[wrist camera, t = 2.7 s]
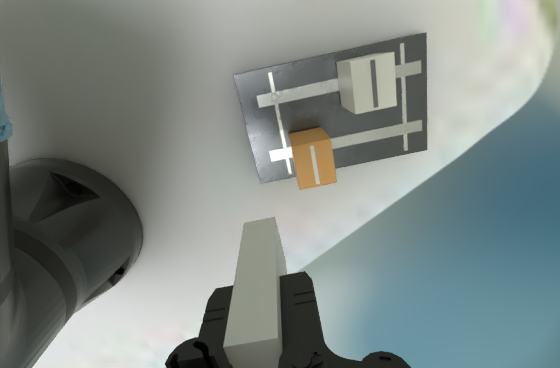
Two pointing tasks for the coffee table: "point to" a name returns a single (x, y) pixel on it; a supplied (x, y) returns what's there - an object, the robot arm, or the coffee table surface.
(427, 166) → the coffee table surface
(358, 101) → the fader white
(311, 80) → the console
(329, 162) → the fader orange
